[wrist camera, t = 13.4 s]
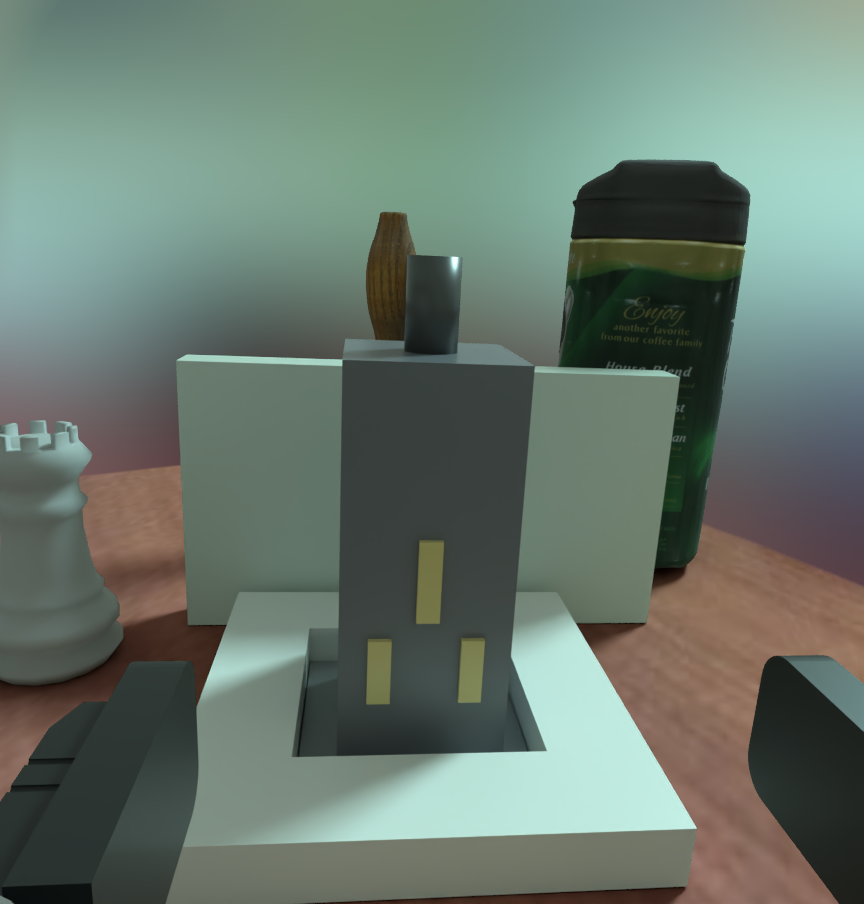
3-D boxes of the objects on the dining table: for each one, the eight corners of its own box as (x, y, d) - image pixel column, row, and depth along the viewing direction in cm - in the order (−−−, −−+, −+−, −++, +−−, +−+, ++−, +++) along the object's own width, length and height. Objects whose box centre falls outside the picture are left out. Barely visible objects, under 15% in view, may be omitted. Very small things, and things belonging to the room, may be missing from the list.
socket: (50, 914, 15) (0, 457, 13) (196, 605, 29) (187, 354, 26) (848, 879, 17) (944, 474, 14) (632, 604, 31) (662, 370, 28)
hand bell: (310, 557, 34) (311, 201, 30) (310, 501, 42) (311, 212, 38) (481, 554, 35) (505, 212, 31) (450, 499, 43) (465, 221, 39)
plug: (336, 774, 19) (343, 250, 16) (340, 676, 24) (346, 252, 20) (502, 769, 20) (545, 260, 16) (475, 674, 24) (504, 260, 21)
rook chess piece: (-47, 660, 24) (-79, 428, 22) (79, 612, 28) (62, 409, 26) (23, 709, 22) (-5, 454, 20) (152, 649, 25) (139, 428, 23)
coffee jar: (709, 589, 32) (778, 147, 28) (533, 565, 34) (570, 145, 30) (687, 519, 42) (737, 178, 37) (550, 503, 43) (580, 175, 39)
